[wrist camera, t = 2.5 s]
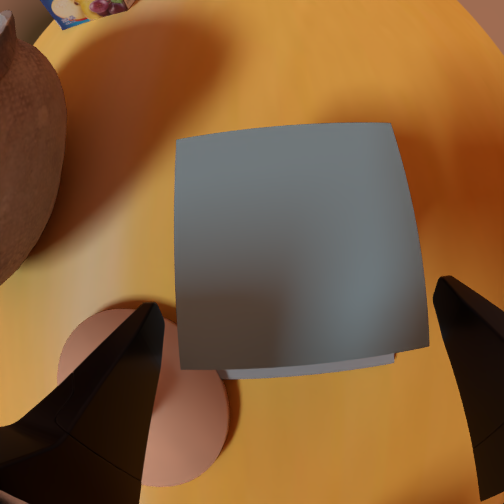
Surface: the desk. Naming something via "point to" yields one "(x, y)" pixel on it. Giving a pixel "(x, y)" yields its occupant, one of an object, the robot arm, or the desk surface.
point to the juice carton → (83, 10)
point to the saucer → (165, 404)
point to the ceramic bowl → (27, 145)
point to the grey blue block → (295, 248)
